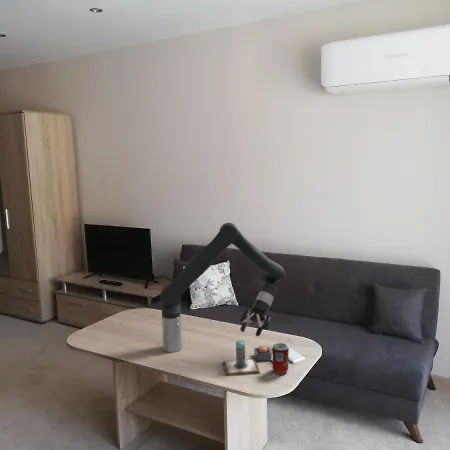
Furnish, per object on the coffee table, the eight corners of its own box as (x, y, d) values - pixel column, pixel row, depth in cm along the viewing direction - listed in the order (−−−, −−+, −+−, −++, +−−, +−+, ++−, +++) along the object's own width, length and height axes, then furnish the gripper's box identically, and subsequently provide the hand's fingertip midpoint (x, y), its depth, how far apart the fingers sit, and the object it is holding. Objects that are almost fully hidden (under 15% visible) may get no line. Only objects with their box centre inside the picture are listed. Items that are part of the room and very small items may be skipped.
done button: (259, 354, 211) (259, 349, 211) (257, 350, 215) (257, 346, 215) (268, 354, 211) (268, 349, 211) (266, 350, 216) (266, 345, 215)
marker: (236, 367, 201) (236, 344, 200) (235, 363, 205) (235, 340, 204) (246, 367, 202) (245, 344, 200) (244, 363, 206) (244, 340, 204)
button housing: (257, 361, 210) (256, 354, 209) (254, 354, 217) (254, 348, 216) (271, 360, 211) (271, 353, 210) (268, 353, 218) (268, 347, 217)
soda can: (289, 375, 196) (289, 348, 194) (272, 375, 196) (272, 348, 194) (287, 367, 203) (287, 342, 201) (272, 367, 203) (272, 342, 201)
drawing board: (226, 375, 196) (226, 373, 196) (222, 362, 209) (222, 360, 209) (259, 373, 198) (259, 371, 198) (254, 360, 211) (254, 358, 211)
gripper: (247, 296, 216) (233, 326, 209) (272, 302, 207) (258, 333, 200) (254, 304, 221) (240, 333, 213) (278, 309, 212) (265, 340, 205)
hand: (249, 333), depth 207 cm, fingers open, 8 cm apart
